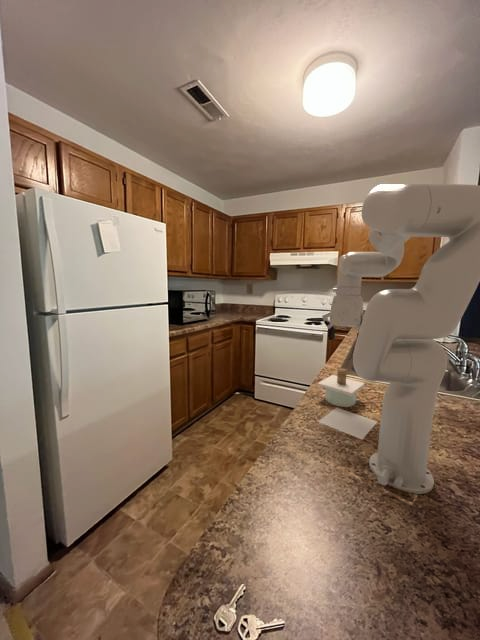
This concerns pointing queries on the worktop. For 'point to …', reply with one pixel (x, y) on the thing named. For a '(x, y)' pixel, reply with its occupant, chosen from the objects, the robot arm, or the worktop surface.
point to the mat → (348, 422)
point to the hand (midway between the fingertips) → (344, 341)
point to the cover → (341, 383)
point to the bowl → (340, 398)
